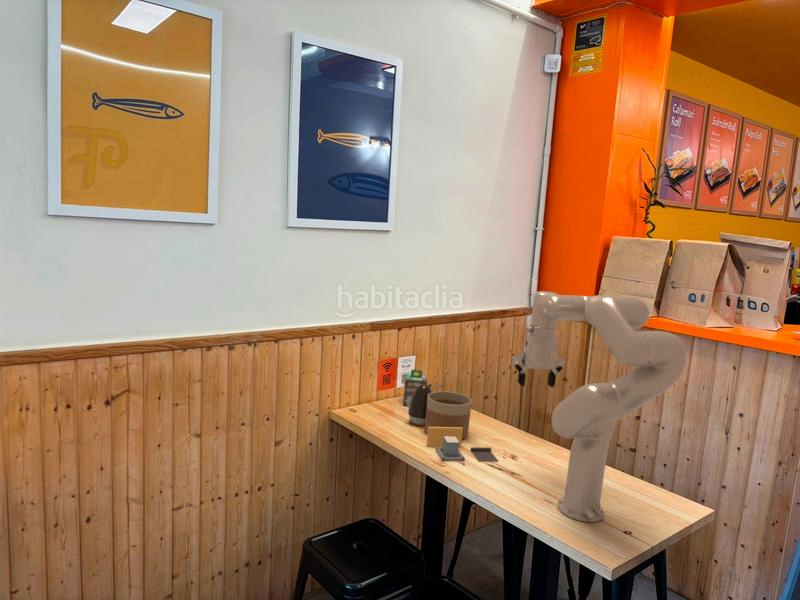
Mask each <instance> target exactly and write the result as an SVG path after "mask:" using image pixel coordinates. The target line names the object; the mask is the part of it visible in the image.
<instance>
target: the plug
mask: <svg viewBox="0 0 800 600" xmlns="http://www.w3.org/2000/svg"><path fill="white" fill-rule="evenodd" d="M458 450H460V447H459V441H458V440H457V438H456V437H450V436H444V438H443V448H442V454H443V455H444V457H458Z"/></svg>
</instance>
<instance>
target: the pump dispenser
mask: <svg viewBox="0 0 800 600" xmlns="http://www.w3.org/2000/svg"><path fill="white" fill-rule="evenodd" d="M431 387H432V384H431V383H429V384H427V385H426V384H421V385H419V386H418V387H417V388H416V390H415V392H414V394H413V396H412V399H411V401H410V405H409V406H408V409H407V415H408V417H409V420H410V421H411V422H412V423H413V424H415V425H417V426H422V427H423V426H425V418H426V408H427V397H428V394H430V393H432V392H433V390H432V389H431Z"/></svg>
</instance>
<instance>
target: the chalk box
mask: <svg viewBox="0 0 800 600" xmlns="http://www.w3.org/2000/svg"><path fill="white" fill-rule="evenodd" d="M416 373H418V374H416ZM421 384H426V385H428V380H427V375H426V374H423V370H422V369H411V370H410V373H406V374H404V383H403V396H402V397H403V399H402V402H403V406H404V407H409V405H410V401H411V399H412V396H413V394H414V392H415V390H416V388H417V387H418V386H419V385H421Z"/></svg>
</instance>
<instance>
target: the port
mask: <svg viewBox="0 0 800 600" xmlns="http://www.w3.org/2000/svg"><path fill="white" fill-rule="evenodd" d="M462 432H463V428H462V427H428V433H427V434H426V447H427V448H428V447H435V453H436V454H437V456H438V457H439V459H440V460H441V462H465V460H466V458H465V456H464V455H463V453H462V452H461V451H460V449H459V450H458V457H444V455H443V453H442V448H443V438H444V436H450V437H456V438H457V440H458V441H459V448H462V441H463V440H462Z"/></svg>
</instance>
